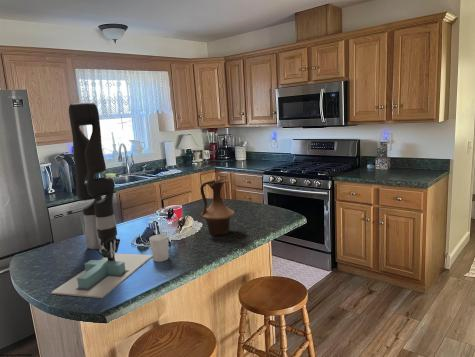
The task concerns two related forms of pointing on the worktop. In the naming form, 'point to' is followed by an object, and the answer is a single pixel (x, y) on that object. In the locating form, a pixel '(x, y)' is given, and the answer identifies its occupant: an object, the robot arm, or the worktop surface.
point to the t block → (99, 271)
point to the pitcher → (216, 209)
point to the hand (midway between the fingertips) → (112, 264)
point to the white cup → (159, 247)
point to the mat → (104, 278)
